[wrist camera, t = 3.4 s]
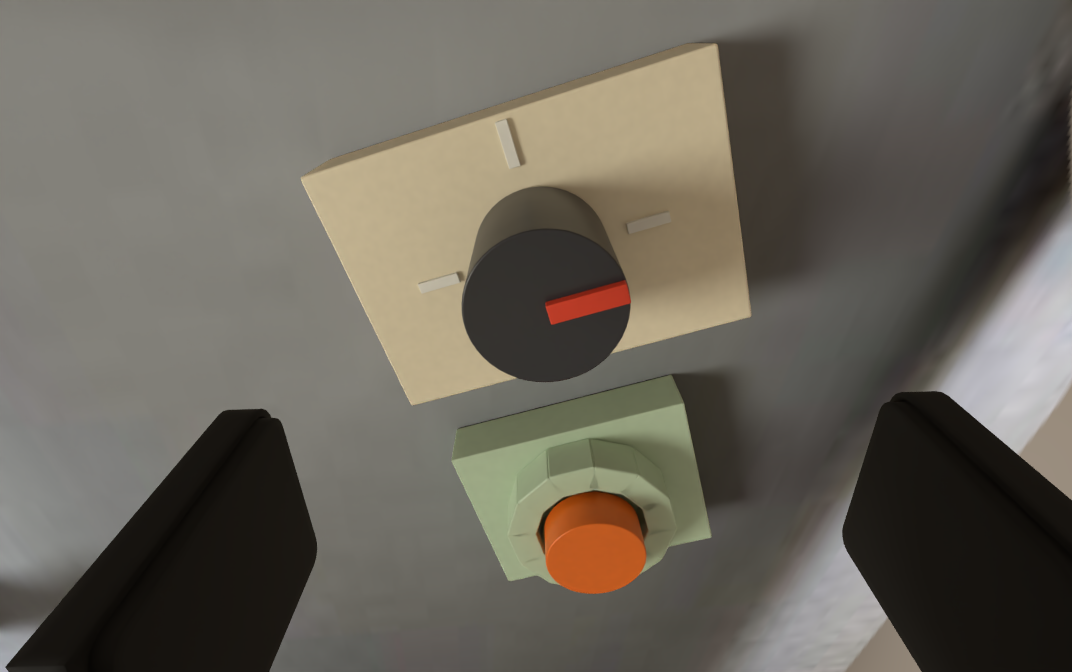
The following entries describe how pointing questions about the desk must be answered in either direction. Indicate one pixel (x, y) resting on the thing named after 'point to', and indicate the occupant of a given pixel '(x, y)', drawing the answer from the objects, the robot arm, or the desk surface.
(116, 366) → the desk surface
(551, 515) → the button
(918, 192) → the desk surface
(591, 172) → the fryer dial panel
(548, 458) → the button block
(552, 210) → the knob
